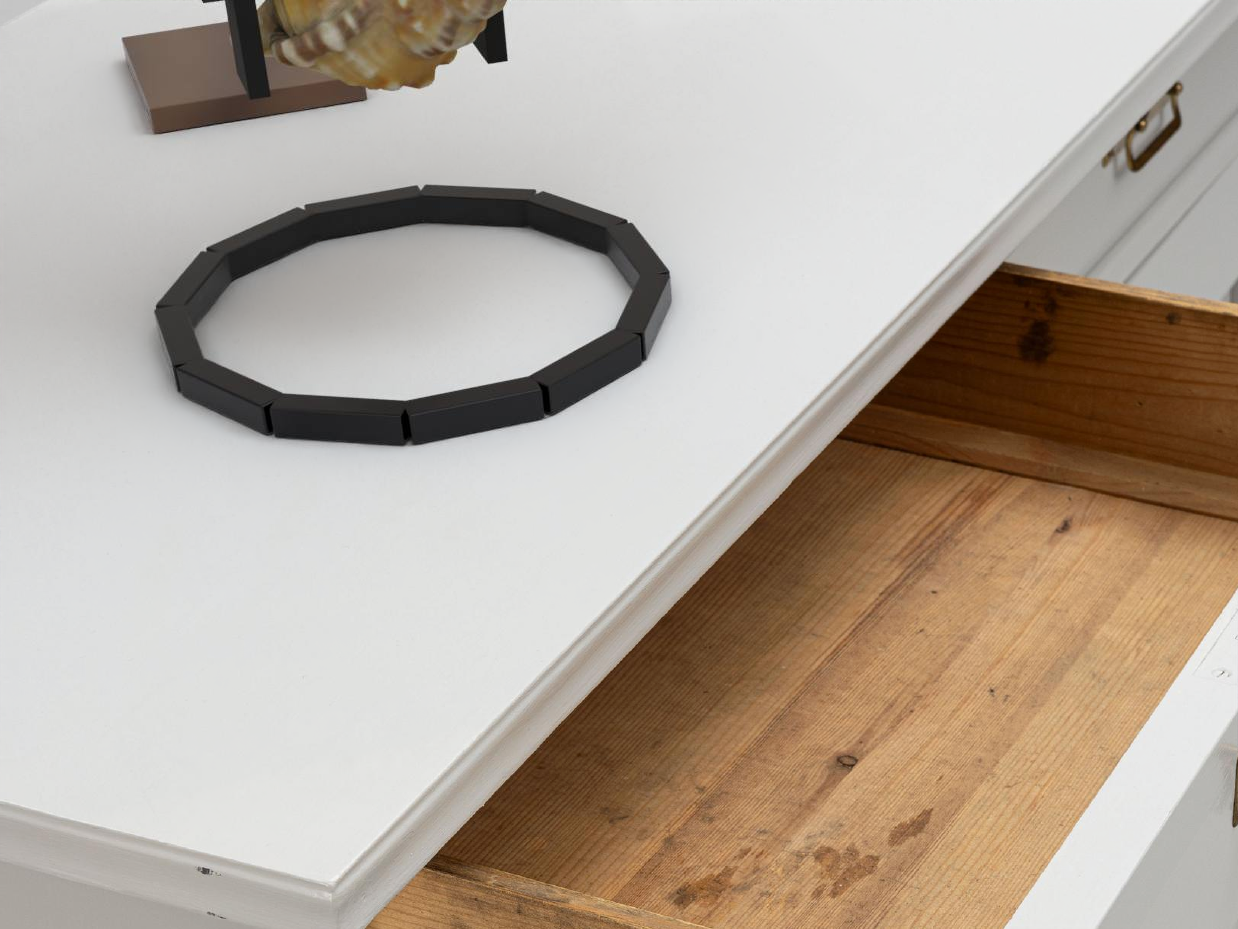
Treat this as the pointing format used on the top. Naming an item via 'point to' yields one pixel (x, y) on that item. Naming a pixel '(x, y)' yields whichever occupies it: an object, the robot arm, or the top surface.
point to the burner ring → (433, 412)
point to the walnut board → (217, 80)
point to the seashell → (372, 37)
